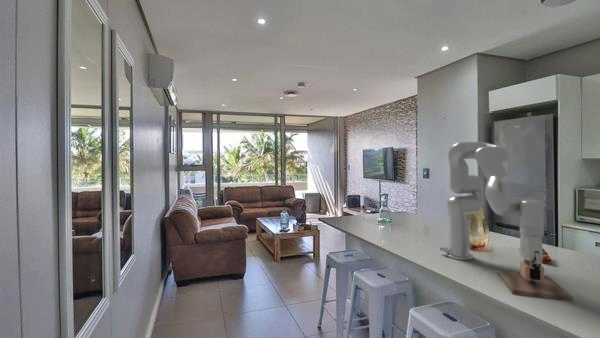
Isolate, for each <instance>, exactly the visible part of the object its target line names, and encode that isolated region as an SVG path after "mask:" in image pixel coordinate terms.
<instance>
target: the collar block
mask: <svg viewBox="0 0 600 338" xmlns="http://www.w3.org/2000/svg"><path fill="white" fill-rule="evenodd" d="M534 264H536V263H533V265H534ZM530 269H531V264H530V262H524V261H520V263H519V273H520V274H521V275H522V276H523V277H524V278H525V279H529V280H534V279H530ZM544 275H545V268H544V266H543V265H541V270H540V278H541V279H540V281H544Z"/></svg>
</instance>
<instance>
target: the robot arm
mask: <svg viewBox="0 0 600 338" xmlns="http://www.w3.org/2000/svg"><path fill="white" fill-rule="evenodd" d="M447 154H448V155H447V156H448V157H447V158H448V163H449V187H450V191H451V192H452V193H453V194H460V195H457V196H456V195H455V196H452V197H450V198H448V199H447V201H446V210H447V214H448V227H449V229H448V230H449V231H448V233H449V234H448V235H449V237H448V238H449V240H448V246H446V247H444V246H439V252H440V251H442V252H443V253H445V255H446V257H448V258H451V259H453V260H460V261H461V260H462V261H463V260H464V261H470V260H473V259H474V255H473V254H472V253H471V244H470V243H471V235H470V234H471V231H470V230H471V225H470V220H469V219H468V217H467V215H470V214H471V215H474V214H478V213H480V212H481V211H482V209H483V206H484V195H485V198H486V202H488V204H489V205H488V206H490V208H491V210H492V211H493V213H495V214H496V215H498V216H501V217H509V216H519V234H520V238H519V239H520V241H519V248H520V252H519V255H520V256H521V257H522V258H523V261H522V262H530V264H531V269H530V279H534V280H540V279H541V278H540V270H541V266H542V260H543V249H544V248H543V239H542V238H543V237H544V236H545V235H544V234H545V233H544V232H545V231H544V228H545V227H544V212H545V211H544V203H543V201H541V200H540V199H527V198H525V197H516V196H515V197H514V196H512V197H511V196H510V197H504V196H503V195H502V193H501V191H500V187H499V184H500V182H502V181H503V180H505V179H506V178H507V177H508V173H509V172H508V170H507V169H506V168H505V166H504V164H505V163H507V161H508V160H509V157H510V156H509V155H510V154H509V152H508V150H507V149H506V148H505V147H504V146H502V145H496V144H493V143H489V142H485V141H461V142H457V143H454V144H452V145H451V146H450V148H449V149H448V153H447ZM470 159H471V160H472V159H473V160H476V162H477V164H478V166H479V169H480V171H481V173H482V174H483V176H484V177H485V179H486V182H485V183H486V184H485V189H484V186H483V185H484V184H483V181H482V179H481V178H480V177H479V176H477V175H474V174H469V166H468V163H467V161H466V160H470ZM461 194H466V195H461ZM535 260H536V261H535ZM533 263H536V264H534V265H533Z"/></svg>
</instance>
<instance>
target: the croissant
mask: <svg viewBox="0 0 600 338" xmlns="http://www.w3.org/2000/svg"><path fill="white" fill-rule="evenodd" d="M518 251H519V253H520V247H519V249H518ZM534 261H536V260H534ZM541 263H544V264H548V263H552V258H551V257H550V255H549V254H548V252H547V251H546V250H545V248H543V260H542V262H541Z"/></svg>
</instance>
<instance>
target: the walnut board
mask: <svg viewBox="0 0 600 338" xmlns="http://www.w3.org/2000/svg"><path fill="white" fill-rule="evenodd" d="M497 275H498V276H499V278H500V279H501V280H502V282H503V283H504V285H506V287H507V288H508V290H509V291H510V293H511V294H513V295H521V296H527V297H528V296H529V297H536V298H546V299H554V300H555V299H556V300H564V301H574V299H573V296H572V295H571V294H570V292H568V291H567V290H565V289H564V288H563V287H562V286H561V285H560V284H558V283H557V282H556V281H555V280H554V279H553V278H551V277H550V276H549V275H545V274H544V281H540V280H535V284H532V283H528V279H525V278H524V277H523V276H522V275H521V274H520V272H511V271H504V270H503V271H500V270H497Z"/></svg>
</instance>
